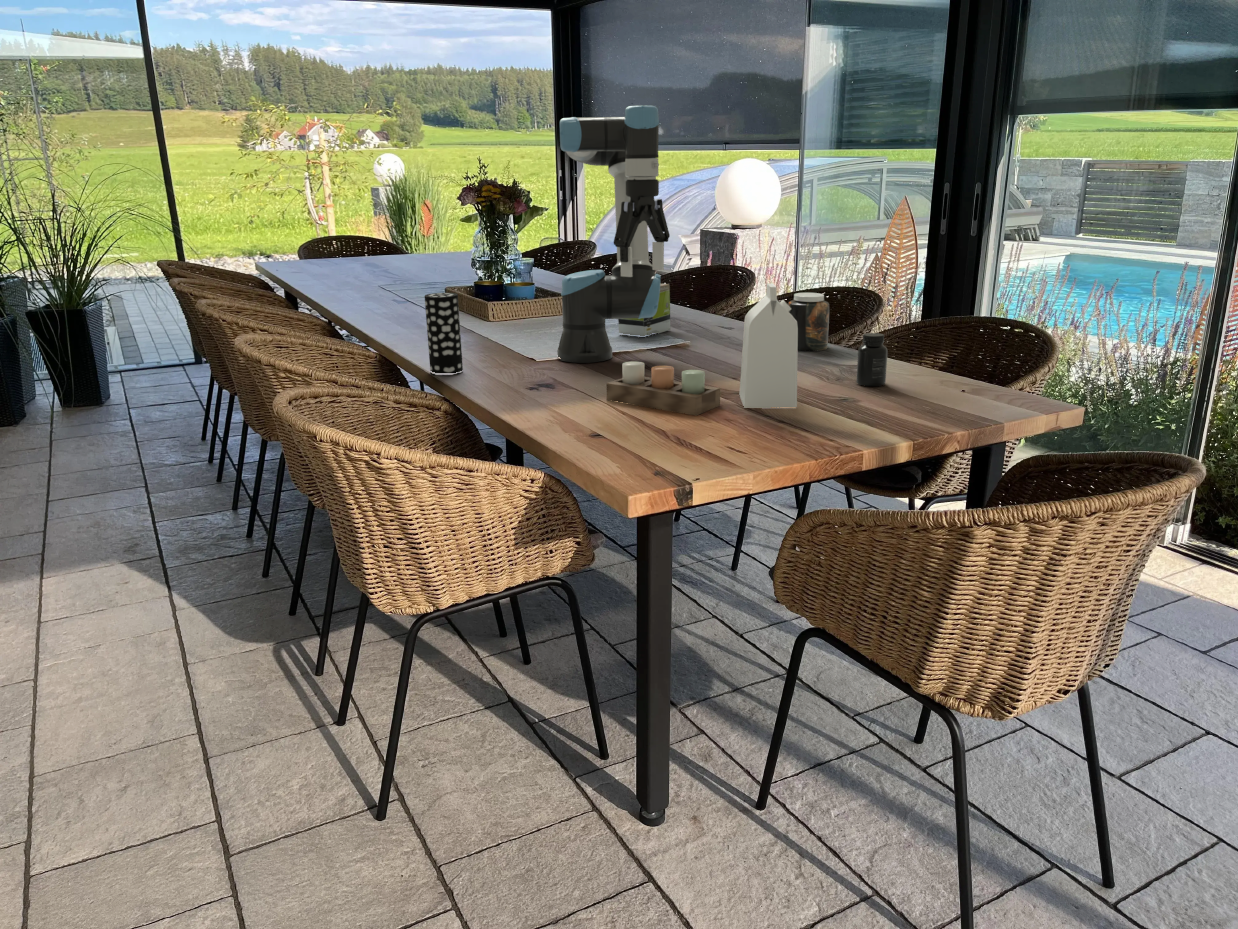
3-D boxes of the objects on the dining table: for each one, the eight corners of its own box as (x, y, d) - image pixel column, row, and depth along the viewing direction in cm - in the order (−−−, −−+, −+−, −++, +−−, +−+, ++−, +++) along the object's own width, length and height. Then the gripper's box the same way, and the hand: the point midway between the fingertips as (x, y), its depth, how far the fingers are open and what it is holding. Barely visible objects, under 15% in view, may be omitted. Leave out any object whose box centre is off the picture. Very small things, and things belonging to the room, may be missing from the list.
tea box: (644, 327, 302) (644, 281, 298) (671, 330, 297) (671, 283, 292) (617, 335, 291) (616, 287, 286) (644, 338, 285) (643, 289, 280)
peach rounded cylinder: (647, 390, 211) (647, 368, 210) (659, 386, 215) (659, 364, 213) (665, 393, 208) (665, 371, 207) (678, 389, 212) (678, 367, 211)
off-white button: (618, 386, 216) (617, 364, 214) (630, 381, 219) (630, 360, 218) (636, 388, 213) (636, 367, 211) (648, 384, 217) (648, 363, 215)
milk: (739, 395, 218) (742, 281, 210) (789, 394, 218) (794, 281, 210) (744, 408, 207) (747, 289, 199) (796, 408, 207) (802, 288, 198)
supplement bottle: (886, 381, 229) (890, 332, 225) (884, 388, 222) (888, 337, 219) (857, 380, 231) (860, 331, 227) (854, 386, 225) (857, 336, 221)
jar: (781, 350, 266) (783, 296, 261) (790, 342, 276) (792, 290, 272) (823, 352, 262) (826, 298, 257) (830, 344, 272) (833, 292, 267)
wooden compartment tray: (606, 400, 215) (606, 383, 214) (632, 391, 223) (631, 374, 222) (696, 415, 202) (696, 397, 201) (720, 405, 210) (720, 387, 208)
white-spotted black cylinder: (469, 370, 247) (464, 293, 241) (451, 377, 240) (445, 298, 233) (442, 367, 250) (437, 292, 244) (424, 374, 243) (417, 296, 237)
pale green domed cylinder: (677, 395, 207) (677, 373, 205) (689, 390, 210) (689, 368, 209) (696, 398, 204) (697, 375, 202) (708, 393, 208) (709, 371, 206)
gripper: (625, 180, 202) (626, 280, 209) (684, 176, 222) (683, 268, 228) (596, 180, 206) (598, 278, 213) (657, 176, 226) (657, 266, 232)
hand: (642, 273), depth 221 cm, fingers open, 13 cm apart
